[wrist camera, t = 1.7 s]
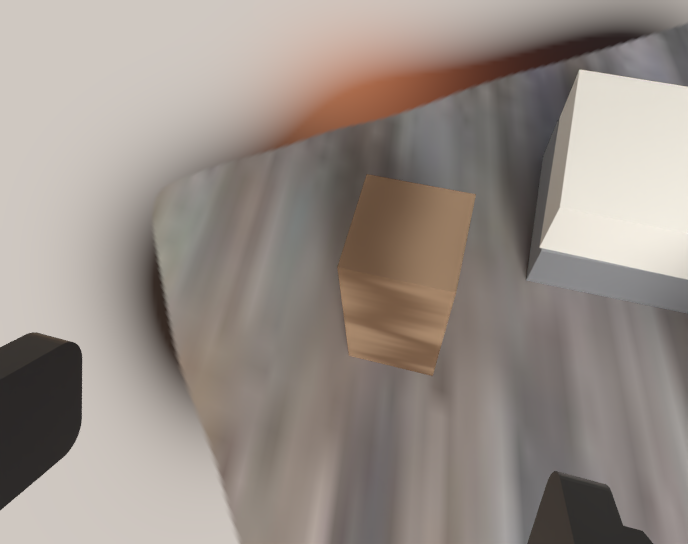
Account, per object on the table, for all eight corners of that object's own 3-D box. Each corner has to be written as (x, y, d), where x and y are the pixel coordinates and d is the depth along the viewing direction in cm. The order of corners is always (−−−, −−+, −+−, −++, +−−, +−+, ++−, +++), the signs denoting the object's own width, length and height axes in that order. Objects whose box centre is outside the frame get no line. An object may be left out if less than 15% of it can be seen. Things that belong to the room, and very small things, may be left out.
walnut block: (448, 299, 35) (475, 194, 25) (432, 375, 32) (455, 292, 23) (369, 282, 36) (366, 174, 26) (349, 355, 33) (337, 267, 24)
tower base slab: (692, 185, 38) (724, 146, 35) (694, 318, 34) (731, 288, 30) (541, 160, 40) (557, 120, 36) (524, 282, 35) (541, 250, 32)
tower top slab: (726, 147, 35) (766, 99, 31) (729, 288, 30) (776, 251, 27) (559, 118, 36) (579, 69, 33) (539, 247, 32) (559, 207, 28)
